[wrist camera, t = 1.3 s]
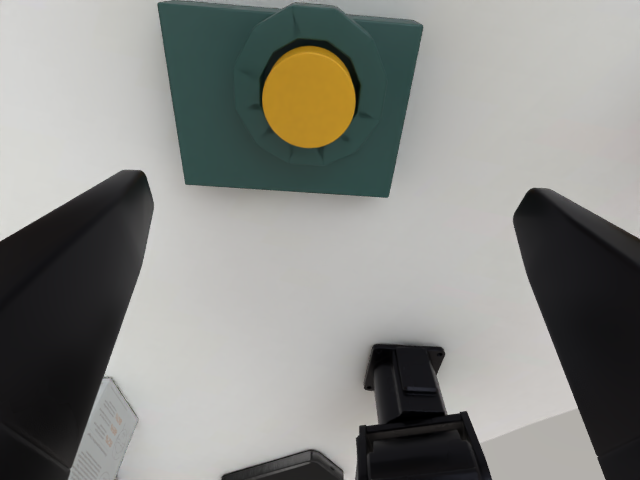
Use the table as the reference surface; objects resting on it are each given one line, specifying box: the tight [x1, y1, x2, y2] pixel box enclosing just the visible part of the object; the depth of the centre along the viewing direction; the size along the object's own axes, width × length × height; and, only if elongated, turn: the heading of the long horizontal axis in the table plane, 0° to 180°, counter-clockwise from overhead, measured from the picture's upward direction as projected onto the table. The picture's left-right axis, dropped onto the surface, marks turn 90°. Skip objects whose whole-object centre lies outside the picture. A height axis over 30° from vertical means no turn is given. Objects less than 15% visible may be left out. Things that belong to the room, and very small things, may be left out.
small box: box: [68, 378, 138, 480], centre depth 34 cm, size 8×6×10 cm
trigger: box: [262, 46, 356, 148], centre depth 17 cm, size 4×4×2 cm
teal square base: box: [158, 0, 423, 198], centre depth 19 cm, size 10×12×4 cm
